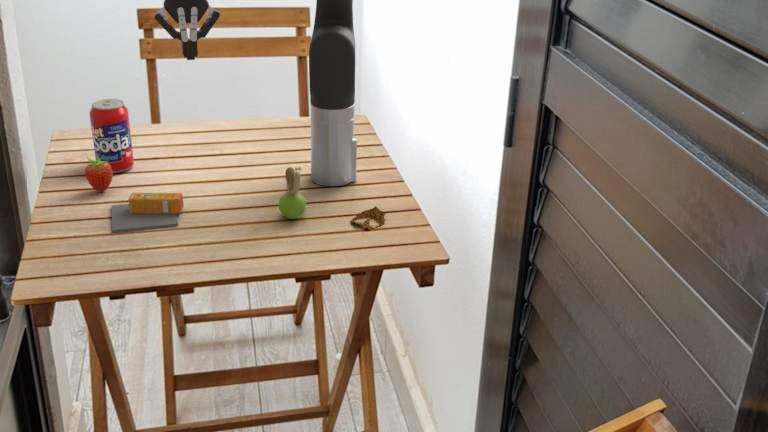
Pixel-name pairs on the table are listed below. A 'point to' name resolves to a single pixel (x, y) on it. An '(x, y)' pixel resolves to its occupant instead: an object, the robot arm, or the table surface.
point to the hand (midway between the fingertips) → (190, 58)
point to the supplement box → (155, 203)
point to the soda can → (112, 133)
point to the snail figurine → (292, 196)
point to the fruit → (99, 174)
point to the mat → (139, 219)
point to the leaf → (370, 214)
